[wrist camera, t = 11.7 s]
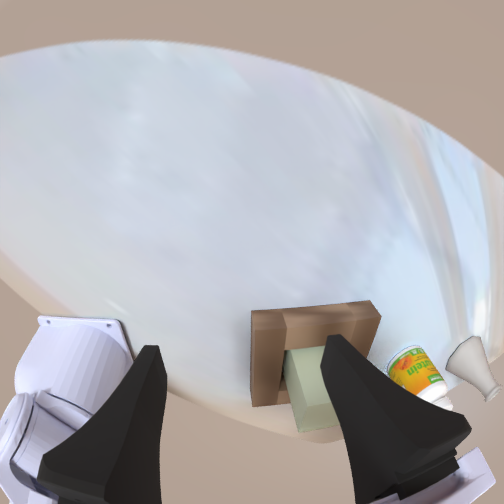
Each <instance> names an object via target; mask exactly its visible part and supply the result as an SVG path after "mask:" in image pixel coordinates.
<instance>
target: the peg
mask: <svg viewBox="0 0 504 504" xmlns="http://www.w3.org/2000/svg"><path fill="white" fill-rule="evenodd" d="M324 348H325V346H318V347H310V348H302V349H293V350H284V358H283V365H282V370H283V374H284V377H285V381H286V385H287V389H288V393H289V397H290V401H291V405H292V409H293V413H294V417H295V421H296V424H297V428H298V432H299V433H301V432H307V431H312V430H318V429H323V428H328V427H333V426H337V425H340V423H339V420H338V418H337V415H336V413H335V410H334V408H333V405H332V403H331V400H330V398H329V395H328V393H327V390H326V388H325V385H324V381H323V377H322V373H321V369H320V364H321V360H322V356H323V352H324Z"/></svg>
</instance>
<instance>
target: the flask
mask: <svg viewBox="0 0 504 504" xmlns="http://www.w3.org/2000/svg"><path fill="white" fill-rule="evenodd" d="M446 370H447V371H449V372H451V373H453V374H454V375H456V376H458V377H460V378H462V379H463V380H465V381H467V382H468V383H470V384H472V385H473V386H475V387H476V388H477V389H478V390H479V391H480V392H481V393H482V394H483V396H484V397H485V402H489V401H490V400H491V399H493V398H494V397H495V396H496V395H497V394H498V392H499V391H500V390H501V388H502V385H499V384H498V383H497V382H496V380H495V379H494V377H493V375H492V372H491V370H490V367H489V364H488V361H487V357H486V354H485V351H484V347H483V344H482V341H481V338H480V337H476V336H473V337H471V338H470V339H468V340H467V341H465V342H464V343H462V344H461V345H460V346H459V347H458V348H457V350H456V351H455V352H454V354H453V355H452V356H451V357H450V359H449V361H448V364H447V367H446Z"/></svg>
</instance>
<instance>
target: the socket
mask: <svg viewBox="0 0 504 504" xmlns="http://www.w3.org/2000/svg"><path fill="white" fill-rule="evenodd" d="M381 317H382V316H381V315H380V314H379V312H378V311H377V309H376V308H375V307H374V305H373V304H372V303H371V301H370V300H368V301H359V302H350V303H341V304H331V305H321V306H310V307H298V308H285V309H271V310H255V311H251V362H250V392H251V399H252V406H253V407H259V406H270V405H279V404H287V403H291V401H290V397H289V393H288V389H287V385H286V381H285V377H284V374H283V372H282V365H283V358H284V350H293V349H302V348H310V347H318V346H325V344H326V340H327V336H328V335H336V334H341V335H342V336H343V337H344V338H345V339H346V340H347V341H348V342H349V343H350V344H351V345H352V346H354V347H355V348H356V349H357V350H358V351H359V352H360V353H361V354H362V355H363V356H364V357H365V358H367V355H368V353H369V350H370V348H371V345H372V342H373V340H374V337H375V334H376V331H377V328H378V326H379V323H380V320H381Z"/></svg>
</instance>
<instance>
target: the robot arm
mask: <svg viewBox="0 0 504 504" xmlns="http://www.w3.org/2000/svg"><path fill="white" fill-rule="evenodd" d="M38 322H39V324H40V327H39V329H38V331H37V332H36V334H35V335H34V337H33V339H32V340H31V342H30V344H29V346H28V347H27V349H26V351H25V352H24V354H23V356H22V358H21V359H20V361H19V363H18V365H17V368H16V373H15V389H16V393H17V394H16V395H15V397H13V399H12V400H11V402H10V403H9V405H8V406H7V408H6V410H5V412H4V414H3V416H2V418H1V420H0V487H1V488H2V490H3V491H4V493H5V494H6V496H7V497H8V498H9V500H10V502H9V504H162V501H161V489H160V463H159V457H160V456H159V455H160V453H159V452H160V437H161V430H162V423H163V416H164V410H165V403H166V396H167V373H166V370H165V367H164V363H163V360H162V356H161V353H160V349H159V346H158V345H145V346H144V347H143V348H142V349H141V351H140V353H139V354H138V356H137V358H136V359H135V361H134V362H133V359H132V356H131V353H130V351H129V348H128V345H127V342H126V339H125V337H124V334H123V331H122V328H121V325H120V323H119V321H117V320H114V319H87V318H68V317H53V316H39V317H38ZM109 324H110V325H109ZM320 369H321V373H322V377H323V381H324V385H325V388H326V390H327V393H328V395H329V398H330V400H331V403H332V405H333V408H334V410H335V413H336V415H337V418H338V420H339V423H340V426H341V429H342V431H343V435H344V439H345V443H346V447H347V451H348V456H349V460H350V465H351V471H352V477H353V484H354V492H355V503H356V504H470V503H472V502H473V501H474V500H475V499H476V498H478V497H479V496H480V495H481V494H483V493H484V492H485V491H486V490H488V489H489V488H490V487H491V486H492V485H494V484H495V482H496V481H495V478H494V476H493V474H492V472H491V470H490V468H489V466H488V465H487V463H486V461H485V459H484V457H483V455H482V453H481V451H480V450H479V448H478V447H475V448H474V449H472V450H471V451H469V452H468V453H466V454H465V455H463V456H462V457H460V458H459V459H457V460H456V459H455V457H454V456H455V455H457V452H456V450H455V447H456V446H458V445H459V444H460V443H461V442H462V441H463V440H464V439H465V438H466V437H467V436H468V435H469V434H470V432H471V429H472V428H471V426H470V425H469V423H468V422H467V420H466V418H465V417H464V415H462V414H459V413H456V412H453V411H450V410H446V409H444V408H441V407H439V406H436V405H434V404H432V403H430V402H428V401H425V400H423V399H422V398H420V397H418V396H416V395H414V394H412V393H411V392H409V391H407V390H406V389H404V388H403V387H401V386H400V385H398V384H397V383H395V382H394V381H393V380H391V379H390V378H389V377H387V376H386V375H385V374H384V373H382V372H381V371H380V370H379V369H378V368H376V367H375V366H374V365H373V364H372V363H371V362H370V361H368V360H367V359H366V358H365V357H364V356H363V355H362V354H361V353H360V352H359V351H358V350H357V349H356V348H355V347H354V346H352V345H351V344H350V343H349V342H348V341H347V340H346V339H345V338H344V337H343V336H342V335H341V334H336V335H328V336H327V340H326V344H325V348H324V352H323V356H322V360H321V364H320Z"/></svg>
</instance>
